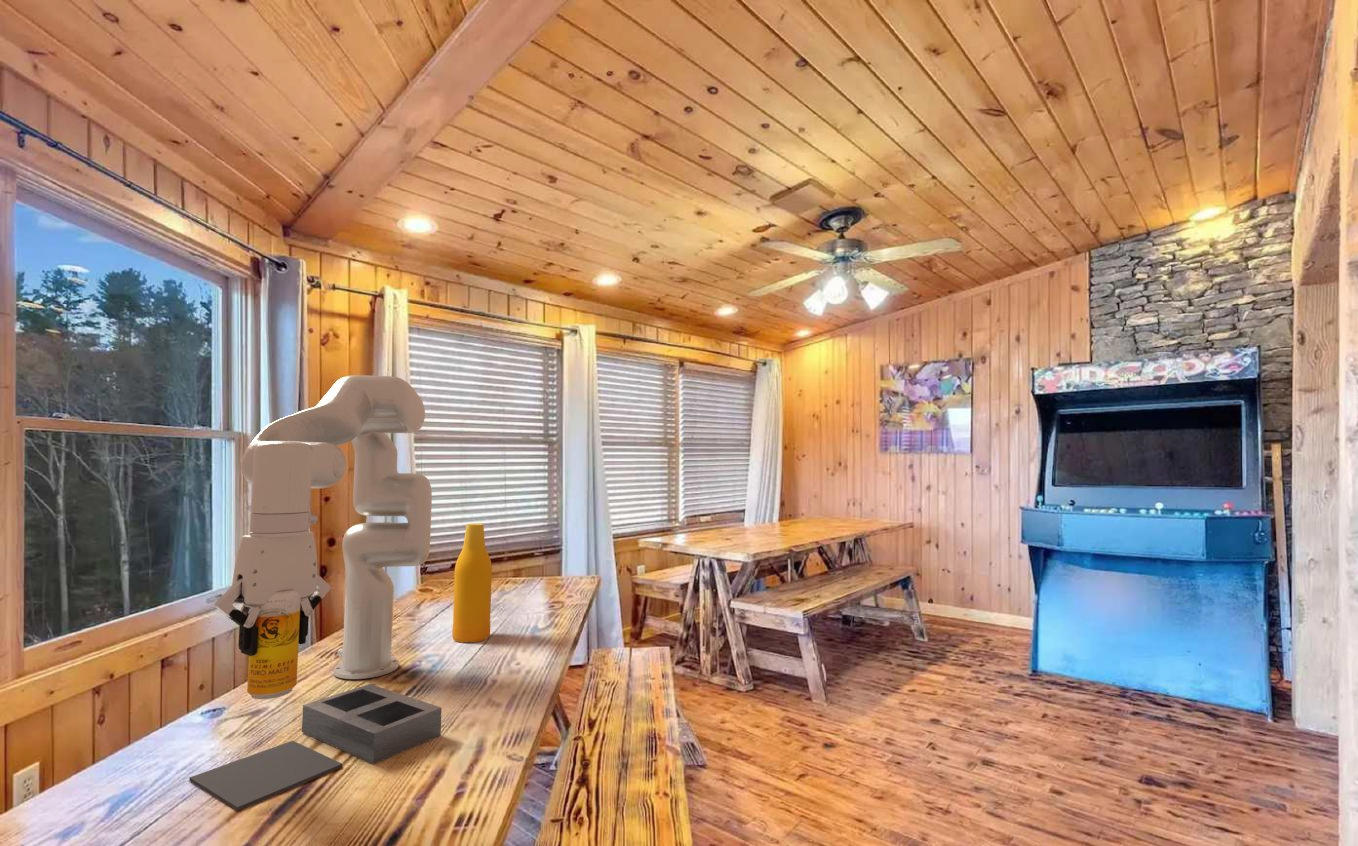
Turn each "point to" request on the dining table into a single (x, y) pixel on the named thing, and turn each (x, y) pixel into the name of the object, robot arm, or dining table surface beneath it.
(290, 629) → the beer can
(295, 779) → the mat
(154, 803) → the dining table surface
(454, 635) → the beer bottle
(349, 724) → the cinder block
